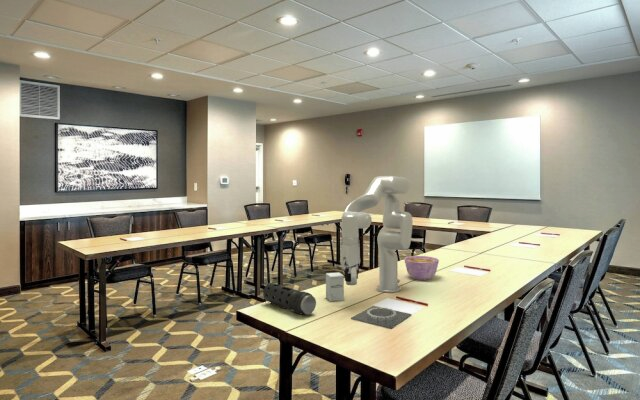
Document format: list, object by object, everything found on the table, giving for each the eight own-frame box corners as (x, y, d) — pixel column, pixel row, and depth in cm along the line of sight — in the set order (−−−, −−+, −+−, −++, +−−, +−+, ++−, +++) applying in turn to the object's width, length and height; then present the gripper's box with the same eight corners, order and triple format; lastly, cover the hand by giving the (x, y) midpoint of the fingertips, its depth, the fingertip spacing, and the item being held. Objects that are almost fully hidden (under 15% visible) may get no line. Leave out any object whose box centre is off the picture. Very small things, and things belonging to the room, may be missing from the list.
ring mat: (373, 307, 180) (373, 302, 180) (411, 315, 169) (411, 310, 169) (350, 319, 165) (350, 314, 165) (391, 329, 154) (391, 323, 154)
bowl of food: (398, 275, 237) (397, 257, 237) (426, 273, 243) (426, 254, 243) (415, 284, 218) (415, 263, 218) (445, 281, 224) (446, 261, 223)
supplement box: (329, 302, 189) (329, 276, 188) (325, 297, 196) (325, 272, 195) (344, 300, 191) (344, 275, 190) (339, 296, 198) (339, 271, 197)
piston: (349, 281, 183) (349, 264, 182) (359, 283, 180) (358, 266, 179) (344, 284, 179) (343, 267, 178) (353, 286, 176) (352, 268, 175)
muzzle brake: (278, 301, 192) (278, 280, 191) (317, 314, 171) (317, 291, 171) (262, 305, 185) (262, 284, 185) (301, 320, 165) (301, 296, 164)
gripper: (353, 237, 187) (354, 274, 188) (332, 243, 173) (334, 283, 175) (367, 238, 182) (367, 276, 183) (346, 244, 169) (348, 285, 170)
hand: (351, 279), depth 179 cm, fingers closed on piston, 5 cm apart
